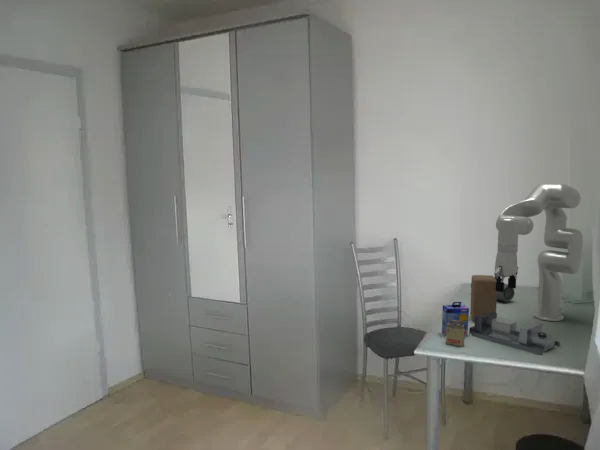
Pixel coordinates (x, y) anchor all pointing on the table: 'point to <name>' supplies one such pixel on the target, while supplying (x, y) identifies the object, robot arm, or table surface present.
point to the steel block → (503, 329)
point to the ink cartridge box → (455, 316)
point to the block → (483, 295)
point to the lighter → (455, 333)
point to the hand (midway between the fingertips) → (505, 289)
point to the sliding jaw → (536, 337)
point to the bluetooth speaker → (505, 294)
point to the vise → (484, 327)
